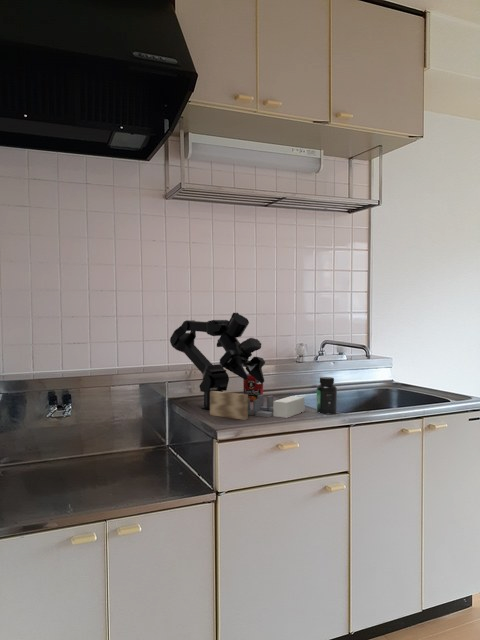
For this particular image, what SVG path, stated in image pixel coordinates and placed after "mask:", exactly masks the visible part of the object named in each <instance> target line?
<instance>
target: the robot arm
mask: <svg viewBox="0 0 480 640" xmlns="http://www.w3.org/2000/svg"><path fill="white" fill-rule="evenodd" d="M249 324H250V321H249V319H248V318H247V317H245V316H243V315H242V314H239V312H233V313H232V314H231V317H230V319H229V320H228V319H212V320H208V321H201V320H200V321H198V320H195V319H194V320H192V319H190V320H185V321H183V322H182V324H181V325H180V326H179V327H177V328H176V329H175V330H174V331H173V333H172V335H171V336H170V338H169V343H170V345H171V347H172V348H173V349H175V350H176V351H178V352H181V353H183V354H184V355H185V356H186V357H187V358H188V360H190V362H192V364H193V365H194V366H195V367H196V368H197V370H199V372H201V374H202V381H201V382H200V384H199V390H200V392H201V393H202V392H203V406H201V407H200V408H201V409H203V410H210V391H220V392H227V389H228V385H229V380H230V378H229V374H228V372H231V373H233V374H234V375H236V376H238V377H240V378H241V379H242V380H243V379H245V380H247V379H248V376H247V374H246V372H249V374H250V375H251V376H253V377H254V378H255V379H257V380H258V381H259V382H261V383H263V384H264V383H265V378H264V372H263V369H262V368H263V367H264V365H265V364H266V361H265V360H264V358H263V357H259V356H253V354H252V353H254V352H257V351H259V350H260V349H261V348H262V343H261V341H260V340H259V339H257V338H254V337H250V338H247V339H246V340H243V341H242V342H240V340H239V339H238V338H241V337H242V336H243V334H244V333H245V331H246V329H247V328H248V326H249ZM196 332H203V333H207V335H209V336H212V337H219V339H217V343H216V348H223V351H225V353H224V354H223V355H222V356H220V358H219V364H213V363H212V362H211V361H210V360H209V359H208V358H207V357H206V356H205V354H203V353H202V351H201V350H199V348H198V347H197V346H196V344H195V339H196V337H197V336H196V335H197V333H196ZM252 356H253V357H252ZM249 358H251V359H250V360H249ZM244 367H245V369H244ZM227 371H228V372H227ZM262 372H263V373H262Z"/></svg>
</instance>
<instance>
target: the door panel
mask: <svg viewBox="0 0 480 640" xmlns="http://www.w3.org/2000/svg"><path fill="white" fill-rule="evenodd" d="M209 416H213V417H214V416H216V417H221V418H228V419H236V420H243V421H245V420H248V417H249V415H248V395H247V394H244V393H238V392H237V393H236V392H230V391H229V392H228V391H223V392H220V391H210V409H209Z"/></svg>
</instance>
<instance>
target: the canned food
mask: <svg viewBox="0 0 480 640" xmlns="http://www.w3.org/2000/svg"><path fill="white" fill-rule="evenodd" d="M245 372H246V374H247V376H248V379H247V380H245V379H243V378H242V380H243V382H242V383H243V386H242V387H243V388H242V389H243V394H247V395H248V398H250V403H253V400H257V396H258V395H264V382H263V383H261V382H259V381H258V380H257V379H255V378H254V377H253V376H251V375H250V374H249V372H248V371H245ZM262 373H263V374H264V372H263V371H262Z"/></svg>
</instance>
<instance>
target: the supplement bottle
mask: <svg viewBox="0 0 480 640" xmlns="http://www.w3.org/2000/svg"><path fill="white" fill-rule="evenodd" d="M334 384H335V379H334V377H331V376H330V377H329V376H321V377H319V385H318V386H317V387H316V412H317V413H318V412H320V413H335V414H336V413H337V412H338V409H337V408H338V389H337V386H336V385H334ZM320 413H319V414H320Z"/></svg>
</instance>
